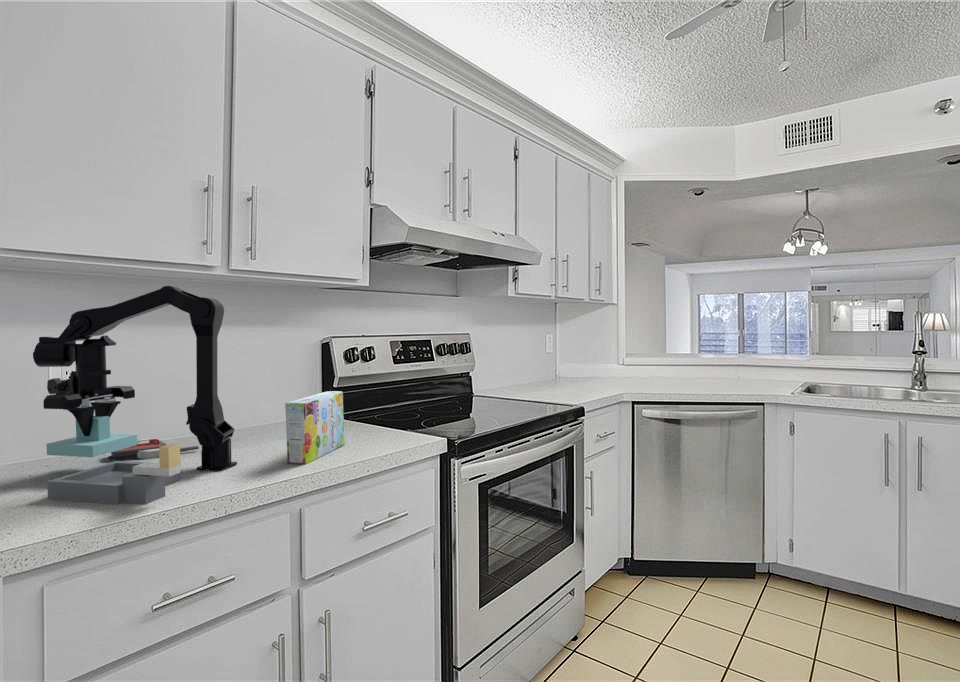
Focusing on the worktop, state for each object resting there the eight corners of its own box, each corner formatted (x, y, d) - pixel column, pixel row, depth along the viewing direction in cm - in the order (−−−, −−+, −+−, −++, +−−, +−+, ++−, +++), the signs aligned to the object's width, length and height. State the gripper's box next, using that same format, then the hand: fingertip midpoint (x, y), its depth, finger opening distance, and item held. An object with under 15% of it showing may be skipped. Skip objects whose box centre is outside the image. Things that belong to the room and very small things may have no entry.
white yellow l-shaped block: (144, 470, 110) (144, 442, 110) (180, 472, 108) (179, 444, 108) (132, 474, 107) (131, 445, 107) (169, 476, 105) (168, 447, 105)
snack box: (326, 444, 156) (325, 390, 155) (345, 445, 155) (344, 391, 154) (285, 463, 135) (284, 401, 135) (306, 464, 134) (305, 402, 133)
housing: (116, 476, 124) (116, 454, 124) (200, 481, 120) (199, 458, 120) (48, 499, 109) (47, 473, 108) (141, 505, 104) (140, 479, 104)
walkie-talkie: (109, 465, 135) (199, 453, 148) (108, 447, 135) (199, 436, 147) (105, 458, 142) (192, 447, 154) (105, 441, 142) (192, 431, 154)
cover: (94, 443, 135) (93, 412, 134) (137, 444, 132) (136, 413, 132) (46, 455, 123) (45, 421, 123) (92, 457, 121) (91, 422, 120)
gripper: (96, 362, 138) (98, 425, 138) (20, 369, 119) (23, 442, 120) (135, 363, 135) (137, 427, 136) (64, 370, 117) (67, 444, 118)
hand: (93, 434), depth 127 cm, fingers closed on cover, 3 cm apart
